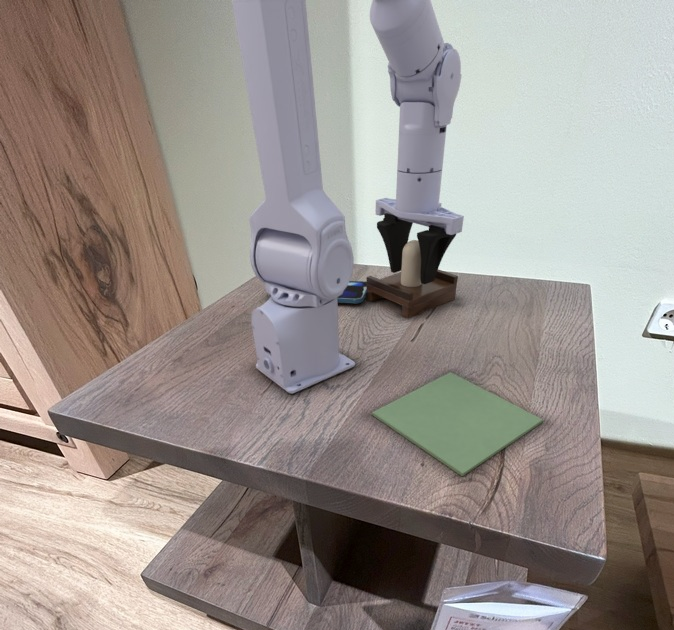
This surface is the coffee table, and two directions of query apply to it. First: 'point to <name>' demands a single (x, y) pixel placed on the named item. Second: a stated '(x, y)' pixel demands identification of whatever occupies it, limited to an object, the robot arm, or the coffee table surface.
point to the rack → (413, 292)
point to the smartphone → (353, 292)
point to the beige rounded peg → (411, 264)
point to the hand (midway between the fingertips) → (412, 276)
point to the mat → (457, 421)
